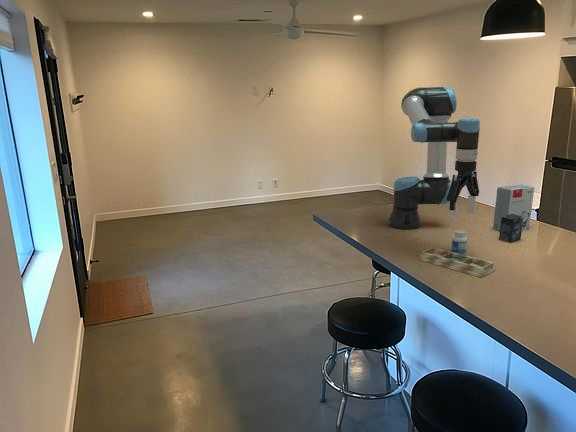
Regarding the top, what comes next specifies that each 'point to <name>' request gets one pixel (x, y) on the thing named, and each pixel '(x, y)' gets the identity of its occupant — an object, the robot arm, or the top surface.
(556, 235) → the top surface
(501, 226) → the box
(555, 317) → the top surface
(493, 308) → the top surface
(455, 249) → the pill bottle
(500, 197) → the hard drive box
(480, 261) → the three-compartment tray
